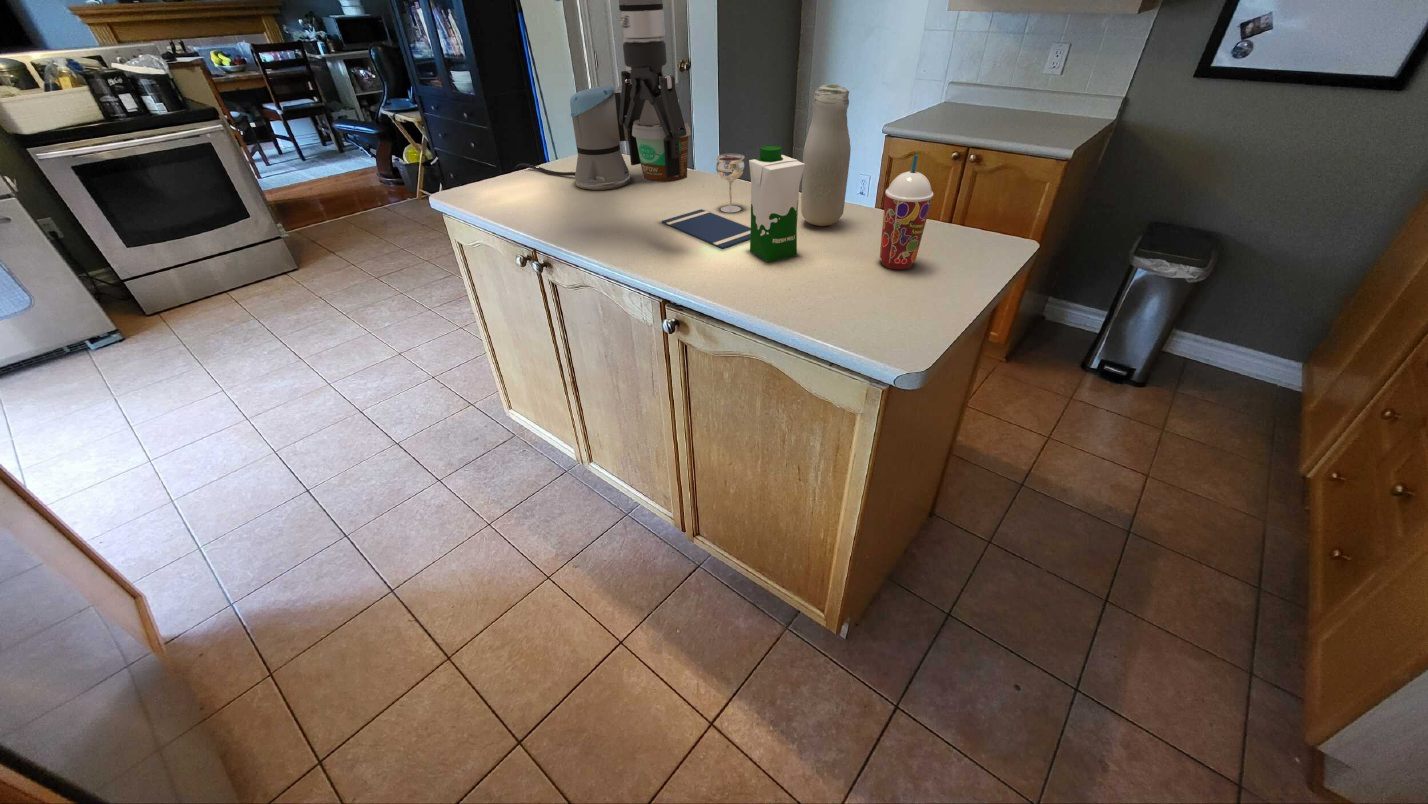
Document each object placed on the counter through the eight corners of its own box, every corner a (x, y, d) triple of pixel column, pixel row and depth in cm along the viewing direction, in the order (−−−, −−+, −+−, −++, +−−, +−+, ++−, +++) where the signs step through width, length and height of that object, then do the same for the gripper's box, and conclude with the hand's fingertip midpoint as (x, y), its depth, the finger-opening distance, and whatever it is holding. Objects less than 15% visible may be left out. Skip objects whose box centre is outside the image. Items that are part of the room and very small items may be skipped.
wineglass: (724, 215, 136) (723, 162, 129) (712, 207, 141) (711, 156, 134) (749, 210, 138) (750, 158, 131) (737, 203, 143) (737, 152, 136)
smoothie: (911, 276, 106) (933, 164, 94) (868, 267, 110) (884, 158, 98) (923, 260, 112) (946, 152, 100) (882, 252, 116) (899, 147, 104)
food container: (624, 180, 113) (618, 125, 107) (641, 172, 117) (635, 119, 112) (678, 186, 108) (674, 129, 102) (693, 178, 113) (690, 123, 107)
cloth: (661, 222, 133) (661, 220, 133) (701, 210, 139) (701, 209, 139) (722, 249, 119) (722, 247, 119) (763, 234, 125) (764, 232, 125)
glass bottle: (841, 216, 133) (856, 80, 116) (843, 232, 125) (859, 89, 108) (799, 215, 134) (808, 81, 117) (797, 231, 126) (807, 89, 109)
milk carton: (779, 242, 121) (783, 142, 109) (803, 256, 115) (811, 151, 103) (743, 250, 118) (744, 148, 106) (766, 266, 112) (770, 158, 100)
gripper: (590, 38, 105) (607, 162, 118) (666, 45, 90) (675, 185, 103) (625, 35, 109) (637, 155, 122) (703, 41, 94) (707, 177, 107)
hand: (654, 169), depth 113 cm, fingers closed on food container, 12 cm apart
